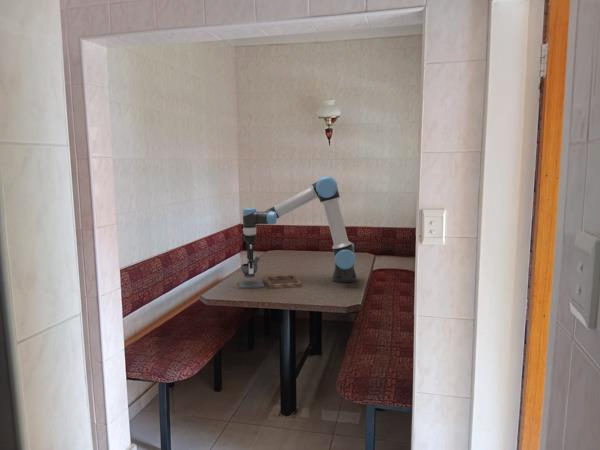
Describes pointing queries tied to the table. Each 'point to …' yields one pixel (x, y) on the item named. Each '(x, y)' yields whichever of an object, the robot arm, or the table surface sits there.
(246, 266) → the mortar and pestle
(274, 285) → the frame
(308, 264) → the table surface
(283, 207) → the robot arm
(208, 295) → the table surface
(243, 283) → the rubber mat
